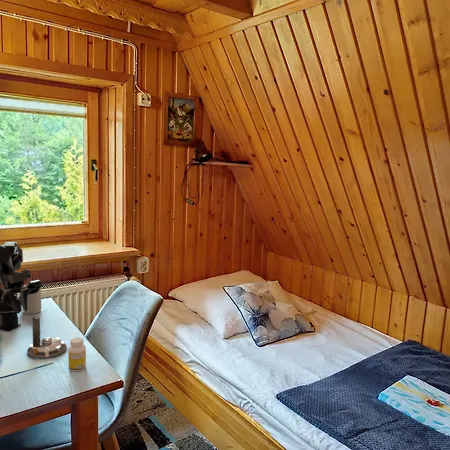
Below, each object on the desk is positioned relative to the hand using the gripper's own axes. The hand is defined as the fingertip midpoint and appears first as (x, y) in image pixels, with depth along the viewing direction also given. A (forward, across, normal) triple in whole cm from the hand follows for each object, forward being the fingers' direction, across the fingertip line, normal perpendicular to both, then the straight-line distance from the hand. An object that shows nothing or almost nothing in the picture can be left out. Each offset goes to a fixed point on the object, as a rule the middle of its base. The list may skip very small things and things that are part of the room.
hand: (23, 311), depth 152 cm
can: (-11, +18, +29) cm, 36 cm away
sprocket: (+15, +3, +1) cm, 16 cm away
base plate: (+16, +3, +2) cm, 16 cm away
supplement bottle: (+29, +4, -11) cm, 31 cm away
